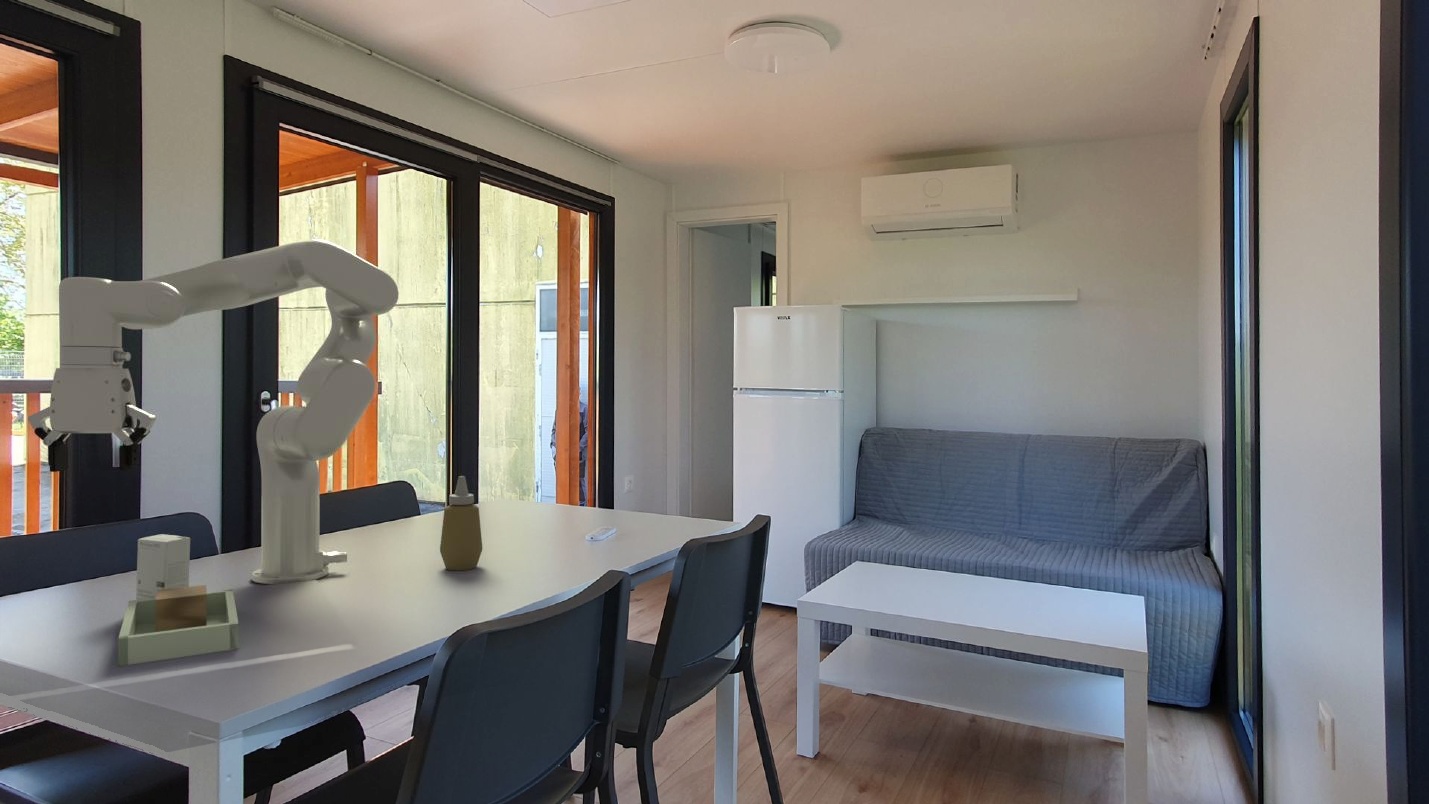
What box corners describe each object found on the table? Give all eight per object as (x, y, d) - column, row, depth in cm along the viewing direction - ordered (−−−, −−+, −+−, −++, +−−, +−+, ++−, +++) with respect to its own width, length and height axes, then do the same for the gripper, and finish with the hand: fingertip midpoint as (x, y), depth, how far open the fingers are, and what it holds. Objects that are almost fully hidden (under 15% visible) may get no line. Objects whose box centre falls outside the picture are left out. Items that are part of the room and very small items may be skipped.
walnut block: (206, 617, 121) (206, 584, 121) (206, 628, 116) (206, 594, 116) (157, 623, 117) (157, 590, 117) (156, 635, 112) (155, 599, 112)
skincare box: (134, 617, 122) (133, 538, 122) (162, 609, 127) (161, 533, 126) (164, 621, 121) (163, 541, 120) (191, 613, 125) (191, 536, 124)
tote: (232, 615, 124) (232, 589, 124) (238, 652, 108) (238, 623, 107) (129, 628, 117) (129, 600, 117) (118, 670, 100) (118, 639, 100)
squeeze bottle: (465, 561, 163) (466, 473, 162) (491, 567, 158) (491, 476, 158) (430, 568, 156) (431, 476, 156) (456, 574, 152) (457, 480, 151)
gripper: (166, 360, 127) (167, 467, 128) (46, 359, 125) (48, 468, 126) (138, 359, 120) (140, 473, 121) (10, 358, 118) (13, 474, 118)
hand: (93, 470), depth 123 cm, fingers open, 9 cm apart
